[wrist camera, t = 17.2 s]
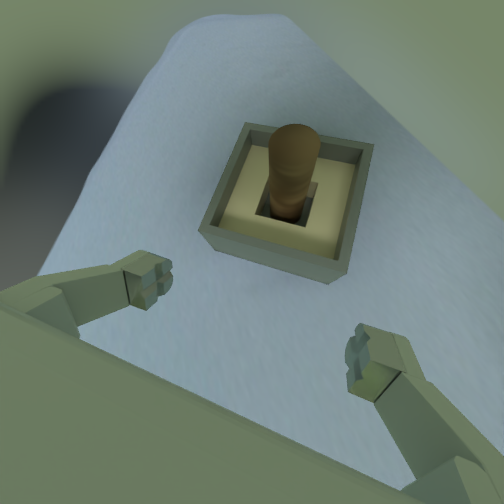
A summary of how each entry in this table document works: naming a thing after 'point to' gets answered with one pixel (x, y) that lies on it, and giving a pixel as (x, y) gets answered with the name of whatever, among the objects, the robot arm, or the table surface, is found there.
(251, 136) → the bore box
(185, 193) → the table surface
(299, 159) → the peg
